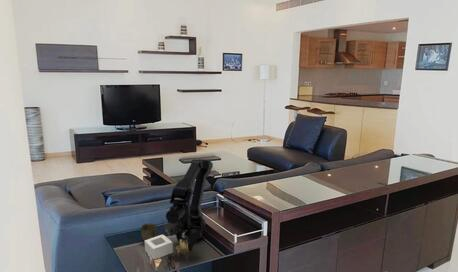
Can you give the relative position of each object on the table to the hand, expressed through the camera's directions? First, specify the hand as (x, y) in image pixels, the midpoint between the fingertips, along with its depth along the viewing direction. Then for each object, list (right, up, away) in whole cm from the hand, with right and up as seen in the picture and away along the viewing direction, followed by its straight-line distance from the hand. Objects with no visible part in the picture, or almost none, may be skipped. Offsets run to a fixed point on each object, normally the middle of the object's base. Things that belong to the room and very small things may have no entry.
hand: (184, 246), depth 147 cm
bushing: (0, -2, 0) cm, 3 cm away
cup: (-18, -1, +9) cm, 20 cm away
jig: (-11, -3, 0) cm, 12 cm away
